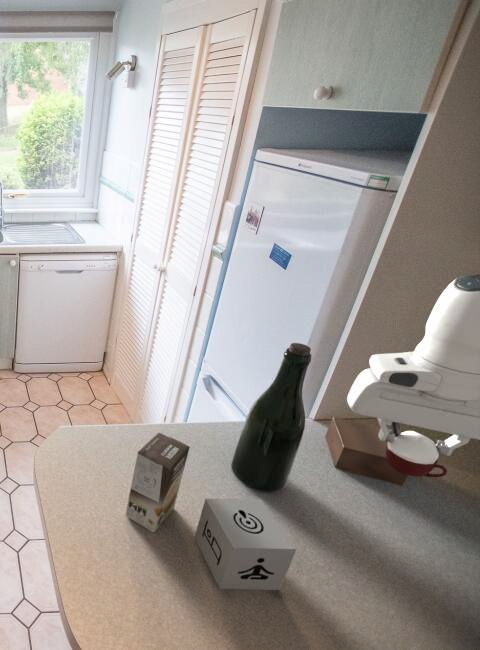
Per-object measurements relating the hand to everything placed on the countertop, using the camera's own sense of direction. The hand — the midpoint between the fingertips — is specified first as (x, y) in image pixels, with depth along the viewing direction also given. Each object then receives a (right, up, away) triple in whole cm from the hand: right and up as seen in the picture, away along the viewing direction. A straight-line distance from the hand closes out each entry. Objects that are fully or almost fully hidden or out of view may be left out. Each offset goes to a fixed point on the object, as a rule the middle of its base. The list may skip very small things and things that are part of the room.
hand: (412, 445), depth 76 cm
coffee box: (-38, -18, +16) cm, 45 cm away
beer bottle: (-10, -14, +25) cm, 30 cm away
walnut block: (+17, -12, +29) cm, 36 cm away
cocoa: (0, -4, +2) cm, 5 cm away
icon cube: (-27, -23, +6) cm, 36 cm away
